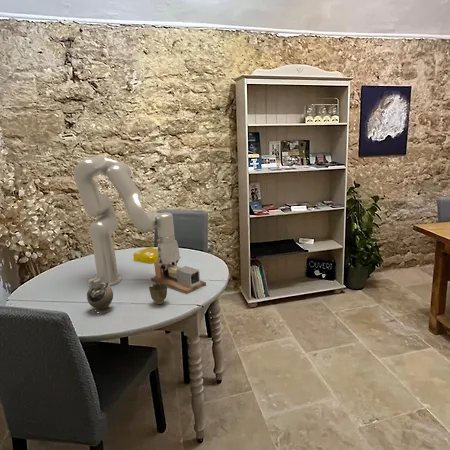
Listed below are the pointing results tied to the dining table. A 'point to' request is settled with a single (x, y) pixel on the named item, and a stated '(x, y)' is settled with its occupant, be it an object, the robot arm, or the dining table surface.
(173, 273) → the tube
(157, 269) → the terracotta socket
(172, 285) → the walnut board
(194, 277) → the metal sleeve
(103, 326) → the dining table surface
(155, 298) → the cup
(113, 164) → the robot arm
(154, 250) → the element tile
